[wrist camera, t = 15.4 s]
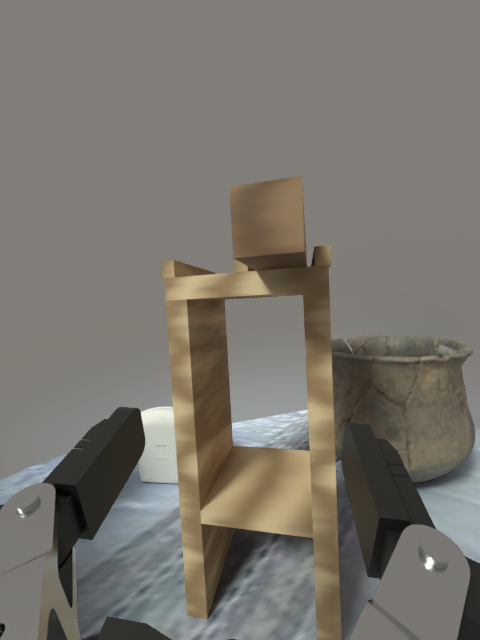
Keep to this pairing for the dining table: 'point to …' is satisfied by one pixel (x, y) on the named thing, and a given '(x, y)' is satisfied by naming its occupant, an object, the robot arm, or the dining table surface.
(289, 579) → the dining table surface
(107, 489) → the robot arm
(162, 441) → the photo printer
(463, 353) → the pot
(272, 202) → the block
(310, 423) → the rack
